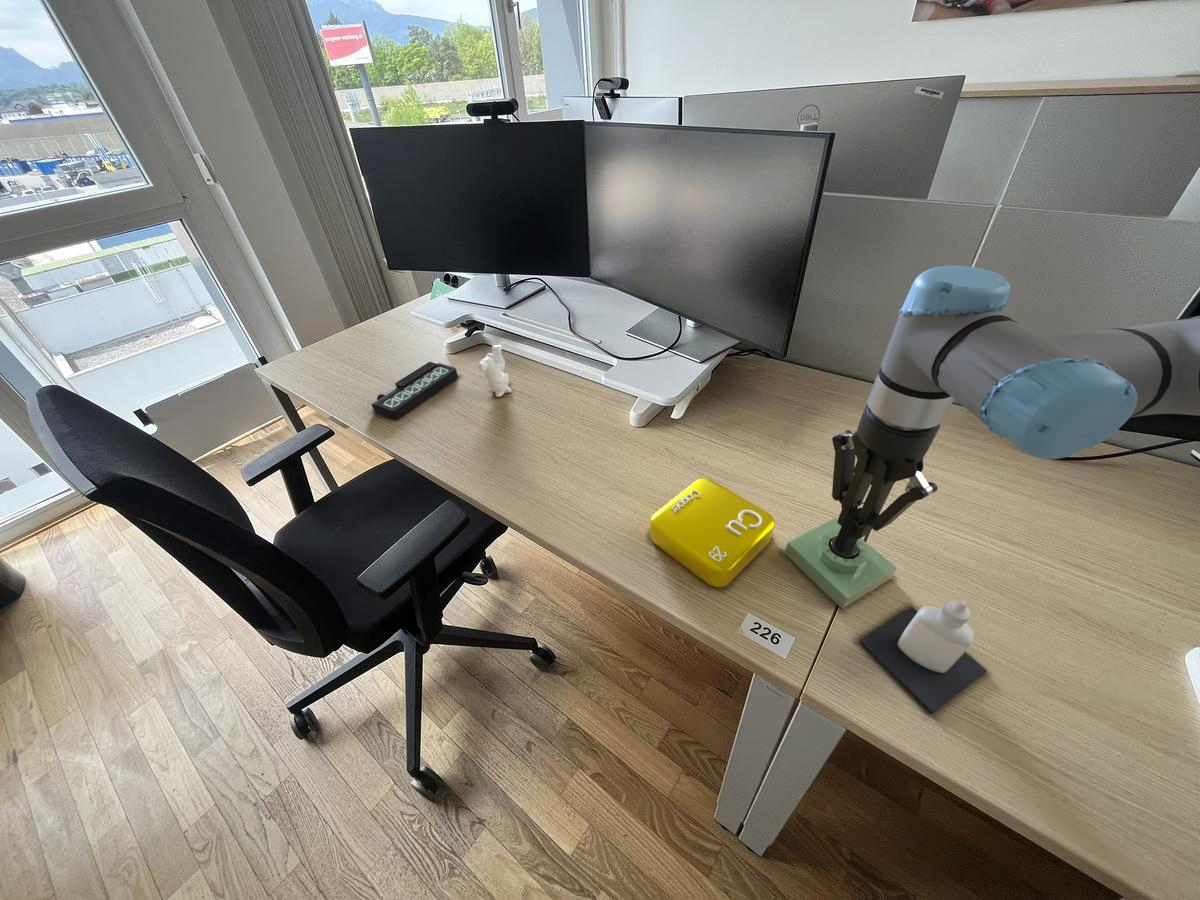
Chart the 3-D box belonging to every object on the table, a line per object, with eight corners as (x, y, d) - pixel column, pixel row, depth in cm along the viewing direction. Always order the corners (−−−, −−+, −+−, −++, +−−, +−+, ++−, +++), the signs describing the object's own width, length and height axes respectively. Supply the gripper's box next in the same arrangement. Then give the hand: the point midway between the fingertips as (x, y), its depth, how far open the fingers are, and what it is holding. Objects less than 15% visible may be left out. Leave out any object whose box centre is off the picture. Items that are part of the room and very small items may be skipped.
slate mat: (984, 672, 57) (987, 670, 57) (931, 714, 54) (933, 712, 54) (910, 608, 64) (911, 606, 64) (859, 642, 61) (860, 640, 61)
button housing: (891, 578, 68) (901, 559, 65) (841, 608, 65) (851, 590, 62) (830, 528, 75) (838, 509, 73) (784, 553, 72) (790, 535, 69)
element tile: (701, 490, 84) (703, 471, 81) (775, 536, 75) (781, 516, 72) (645, 537, 77) (645, 518, 74) (719, 593, 68) (723, 574, 65)
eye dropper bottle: (925, 681, 56) (970, 631, 48) (890, 639, 60) (926, 587, 53) (954, 669, 57) (1003, 618, 49) (918, 629, 61) (957, 576, 53)
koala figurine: (504, 380, 118) (494, 337, 111) (522, 387, 115) (514, 344, 107) (479, 396, 113) (467, 352, 106) (498, 404, 110) (487, 360, 102)
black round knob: (860, 556, 67) (863, 549, 66) (842, 567, 66) (846, 559, 65) (840, 540, 70) (843, 532, 69) (822, 549, 69) (825, 542, 68)
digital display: (429, 358, 123) (456, 367, 119) (432, 369, 125) (459, 377, 121) (363, 399, 110) (392, 410, 106) (368, 410, 112) (397, 421, 108)
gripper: (984, 432, 48) (903, 566, 64) (875, 377, 57) (827, 505, 73) (937, 456, 46) (864, 589, 61) (831, 395, 55) (791, 524, 70)
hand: (844, 544), depth 67 cm, fingers closed
